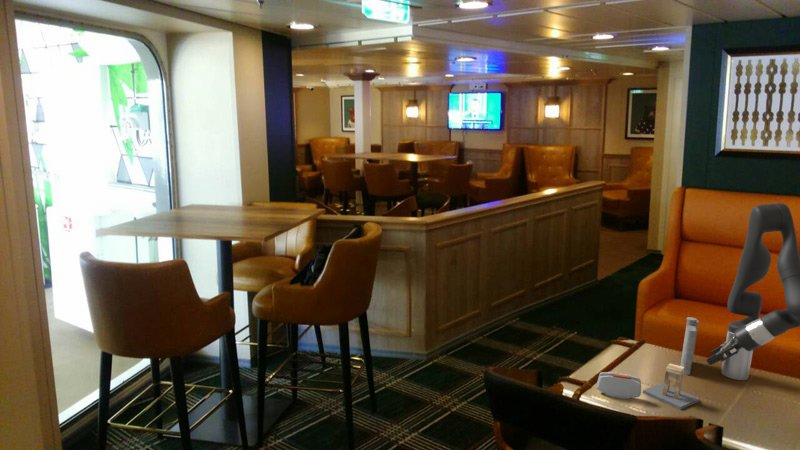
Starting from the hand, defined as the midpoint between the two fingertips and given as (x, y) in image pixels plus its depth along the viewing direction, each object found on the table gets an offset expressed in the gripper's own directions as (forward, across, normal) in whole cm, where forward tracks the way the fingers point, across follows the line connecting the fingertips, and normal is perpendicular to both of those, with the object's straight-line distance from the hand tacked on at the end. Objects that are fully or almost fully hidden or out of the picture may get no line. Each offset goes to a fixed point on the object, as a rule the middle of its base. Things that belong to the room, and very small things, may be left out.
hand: (710, 358), depth 207 cm
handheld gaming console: (+30, +12, -5) cm, 33 cm away
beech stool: (+18, 0, +4) cm, 19 cm away
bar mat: (+19, 0, +5) cm, 20 cm away
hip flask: (+20, -32, +4) cm, 38 cm away
